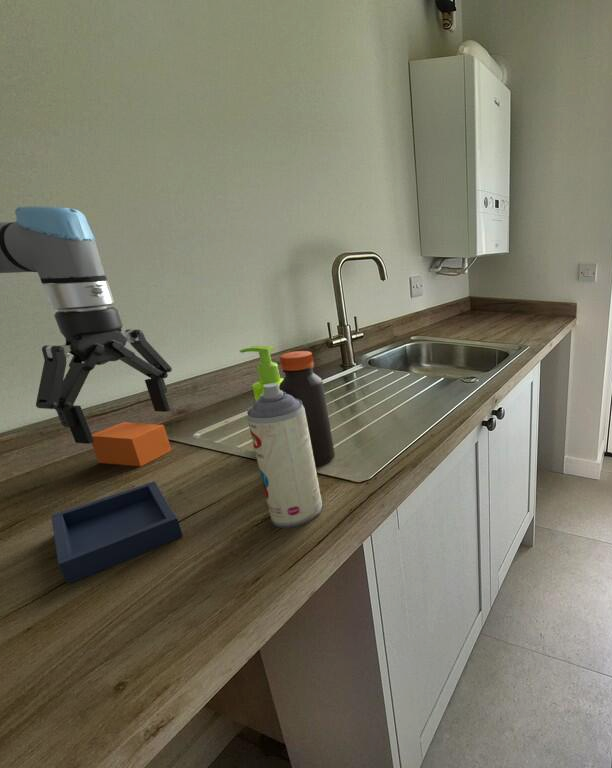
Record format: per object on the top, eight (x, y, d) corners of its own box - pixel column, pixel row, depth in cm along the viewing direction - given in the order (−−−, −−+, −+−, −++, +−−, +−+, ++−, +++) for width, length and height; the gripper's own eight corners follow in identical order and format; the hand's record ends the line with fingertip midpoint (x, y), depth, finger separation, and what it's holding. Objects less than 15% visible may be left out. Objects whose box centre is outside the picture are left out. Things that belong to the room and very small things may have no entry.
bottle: (291, 457, 76) (270, 353, 70) (330, 447, 80) (313, 347, 73) (298, 472, 71) (276, 362, 64) (339, 461, 75) (321, 355, 68)
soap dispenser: (272, 438, 83) (251, 343, 77) (305, 438, 83) (287, 343, 77) (254, 452, 78) (230, 350, 71) (290, 452, 78) (269, 351, 71)
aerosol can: (273, 505, 62) (244, 381, 55) (322, 494, 65) (300, 374, 58) (269, 533, 56) (236, 397, 50) (323, 519, 59) (298, 389, 52)
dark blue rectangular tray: (59, 533, 56) (51, 514, 55) (160, 497, 64) (154, 480, 63) (67, 585, 48) (58, 564, 47) (183, 536, 56) (177, 518, 55)
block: (98, 463, 74) (88, 435, 73) (132, 447, 80) (123, 421, 78) (140, 466, 73) (131, 439, 71) (171, 450, 79) (163, 424, 77)
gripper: (4, 322, 55) (63, 460, 62) (174, 298, 79) (203, 401, 86) (-39, 321, 57) (23, 457, 63) (141, 298, 80) (172, 399, 87)
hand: (127, 425), depth 75 cm, fingers open, 13 cm apart
